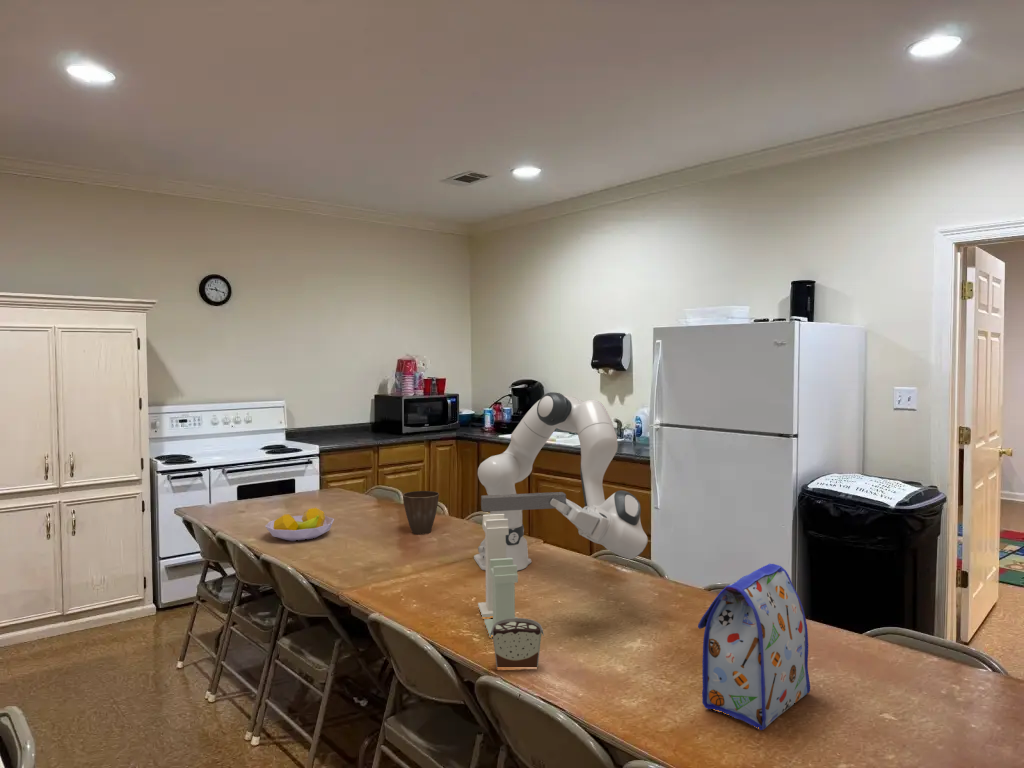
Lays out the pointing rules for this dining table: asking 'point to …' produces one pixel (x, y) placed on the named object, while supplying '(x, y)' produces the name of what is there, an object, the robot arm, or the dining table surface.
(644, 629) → the dining table surface
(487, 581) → the tall stand
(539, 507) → the metal bar
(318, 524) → the fruit bowl
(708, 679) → the lunch bag
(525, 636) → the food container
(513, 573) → the low stand
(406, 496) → the plant pot
